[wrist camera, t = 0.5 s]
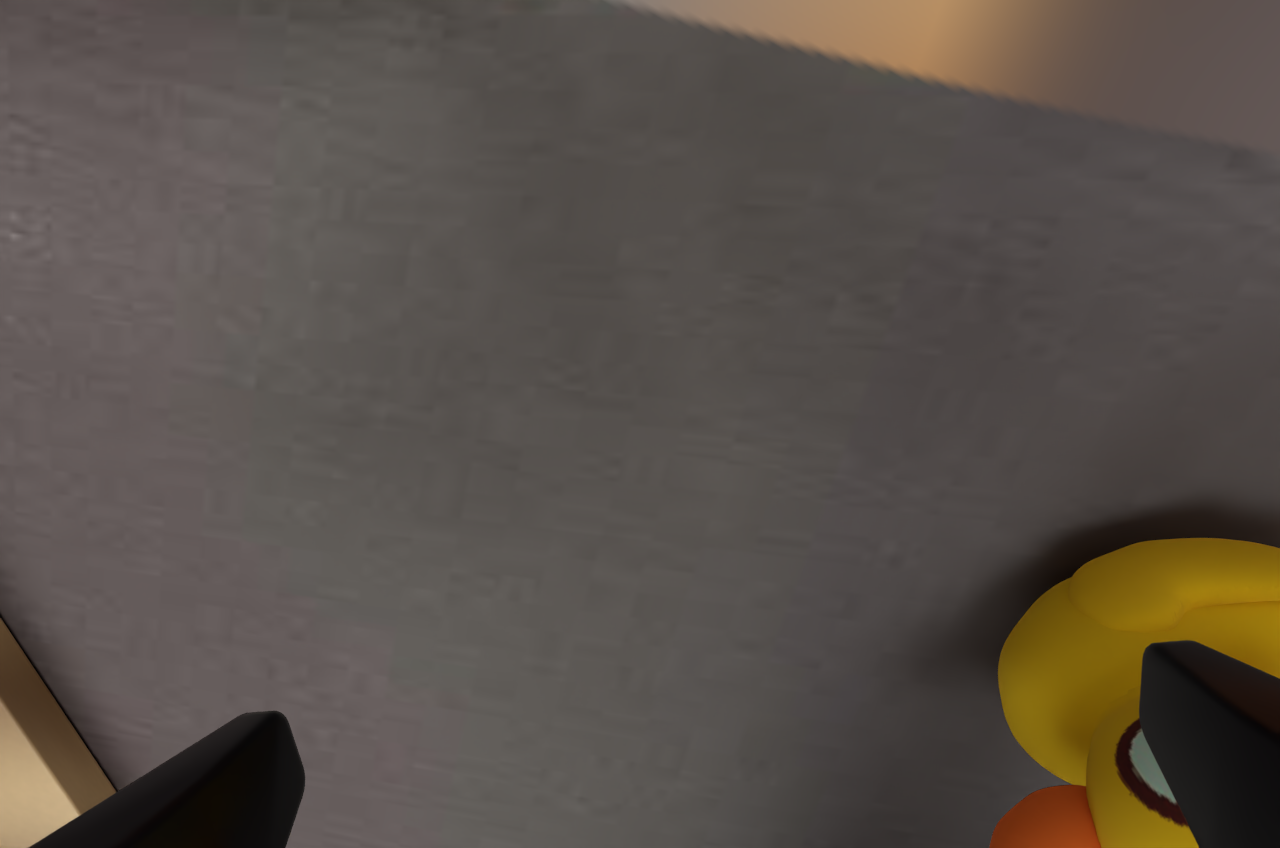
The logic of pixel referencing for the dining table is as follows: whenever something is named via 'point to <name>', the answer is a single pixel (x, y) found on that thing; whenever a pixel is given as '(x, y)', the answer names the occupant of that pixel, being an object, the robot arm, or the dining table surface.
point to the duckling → (1123, 682)
